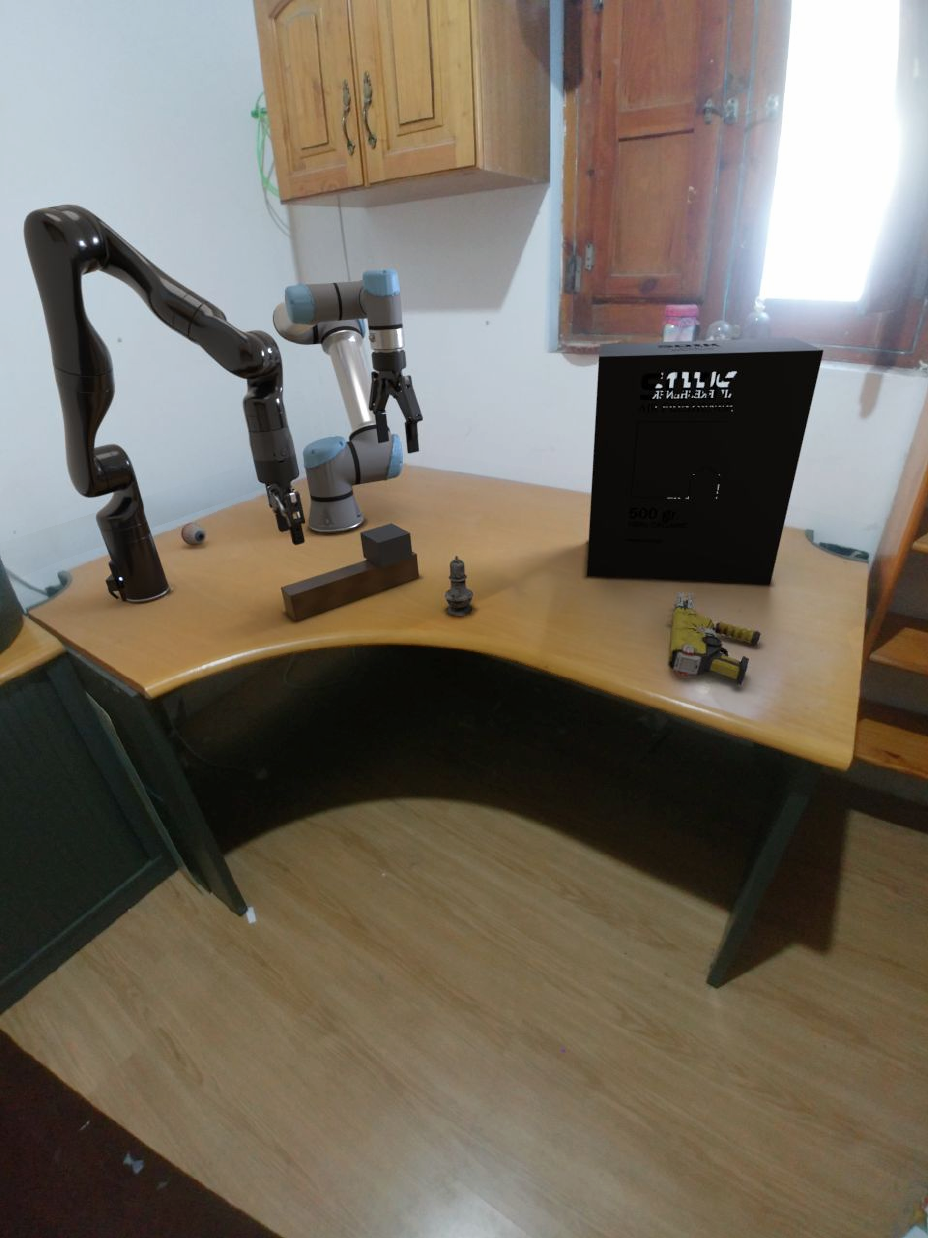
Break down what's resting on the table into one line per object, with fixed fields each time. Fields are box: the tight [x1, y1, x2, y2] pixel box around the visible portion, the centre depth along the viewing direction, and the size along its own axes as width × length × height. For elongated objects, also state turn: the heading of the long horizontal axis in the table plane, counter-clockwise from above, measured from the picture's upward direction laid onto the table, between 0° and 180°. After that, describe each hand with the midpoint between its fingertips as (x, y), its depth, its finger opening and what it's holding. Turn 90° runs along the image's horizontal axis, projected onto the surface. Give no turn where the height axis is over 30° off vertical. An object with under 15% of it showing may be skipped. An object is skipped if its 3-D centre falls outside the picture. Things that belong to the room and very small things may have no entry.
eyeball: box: [180, 522, 207, 547], centre depth 160 cm, size 6×6×6 cm
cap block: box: [359, 522, 413, 569], centre depth 132 cm, size 8×8×6 cm
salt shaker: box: [444, 555, 474, 617], centre depth 120 cm, size 6×6×12 cm
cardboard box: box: [586, 337, 824, 586], centre depth 127 cm, size 38×20×45 cm, turn 78°
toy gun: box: [667, 591, 761, 686], centre depth 106 cm, size 5×24×15 cm
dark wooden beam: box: [280, 550, 420, 622], centre depth 130 cm, size 30×5×6 cm, turn 126°
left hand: (291, 537), depth 117 cm, fingers open, 8 cm apart
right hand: (398, 447), depth 144 cm, fingers open, 13 cm apart
